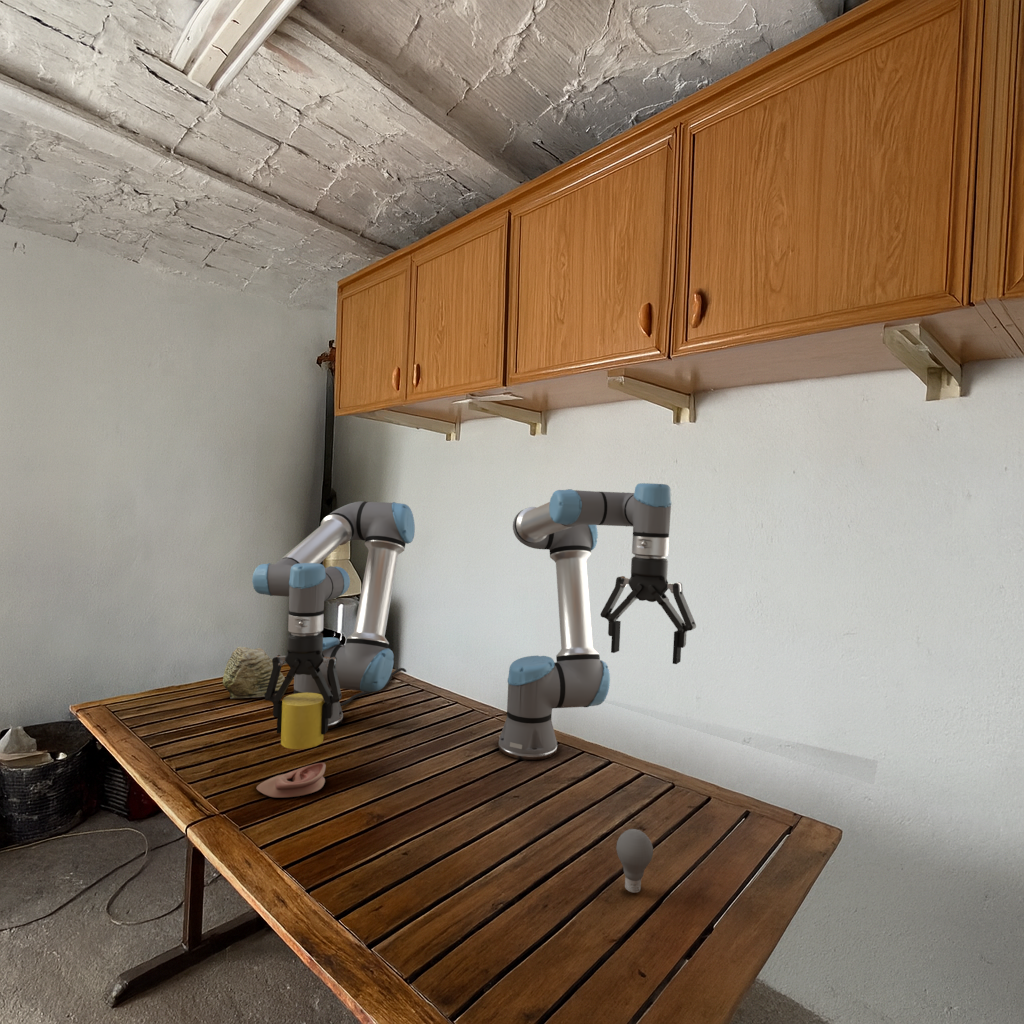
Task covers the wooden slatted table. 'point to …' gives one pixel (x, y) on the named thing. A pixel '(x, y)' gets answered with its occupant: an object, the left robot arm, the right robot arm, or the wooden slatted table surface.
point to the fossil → (249, 673)
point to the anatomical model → (295, 782)
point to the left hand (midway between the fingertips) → (302, 731)
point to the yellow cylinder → (302, 720)
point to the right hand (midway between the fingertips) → (644, 657)
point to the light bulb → (634, 857)
